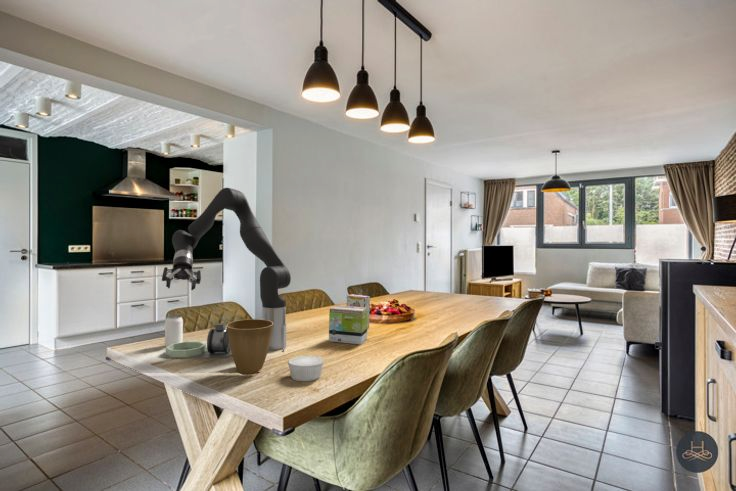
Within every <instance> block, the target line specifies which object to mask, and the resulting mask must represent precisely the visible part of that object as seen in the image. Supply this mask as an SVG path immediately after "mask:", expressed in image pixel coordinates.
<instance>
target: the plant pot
mask: <svg viewBox="0 0 736 491" xmlns="http://www.w3.org/2000/svg"><path fill="white" fill-rule="evenodd" d="M226 329H227V333H228V339H229V344H230V349H231V356H232V359H233V360H232V361H233V362H234V365H235V367H236V370H237V372H238V374H239V375H244V376H246V375H247V376H248V375H249V376H251V375H257V374H258V373H260V371H261V370H262V369H263V367H264V365H265V362H266V358H267V355H268V352H269V350H268V349H269V345H270V340H271V335H272V329H273V322H271V321H268V320H262V318H259V319H258V318H250V319H249V318H248V319H240V320H239V319H238V320H233V321H230V322H228V323H226Z"/></svg>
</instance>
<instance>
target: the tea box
mask: <svg viewBox="0 0 736 491" xmlns="http://www.w3.org/2000/svg"><path fill="white" fill-rule="evenodd" d="M367 315H368V308H367V307H353V306H347V305H338V304H337V305H335V306H333V307H331V308H329V321H328V322H329V323H328V342H330V343H331V342H332V343H333V342H334V343H343V344H353V345H358V346H359V345H360V346H361V345H363V343H365V342H366V340H367V338H368V329H367Z"/></svg>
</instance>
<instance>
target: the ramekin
mask: <svg viewBox="0 0 736 491" xmlns="http://www.w3.org/2000/svg"><path fill="white" fill-rule="evenodd" d="M287 364H288V366H289V374H290V377H291V378H292V379H293V380H294V381H297V382H311V381H316V380H318V379H319V378H320V377H321V376H322V371H323V365H324V358H322V357H319V356H314V355H304V356H303V355H302V356H297V357H293V358H291V359H289V360H288V361H287Z"/></svg>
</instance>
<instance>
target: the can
mask: <svg viewBox="0 0 736 491" xmlns="http://www.w3.org/2000/svg"><path fill="white" fill-rule="evenodd" d="M164 321H165V322H164V346H165V348H166V347H168V346H169V345H171V344H174V343H180V342H184V340H183V336H184V335H183V334H184V331H183V330H184V326H183V325H184V320H183V317H182V315H181V314H180V315H179V314H175V315H168V316H166V318H165V320H164Z"/></svg>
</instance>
